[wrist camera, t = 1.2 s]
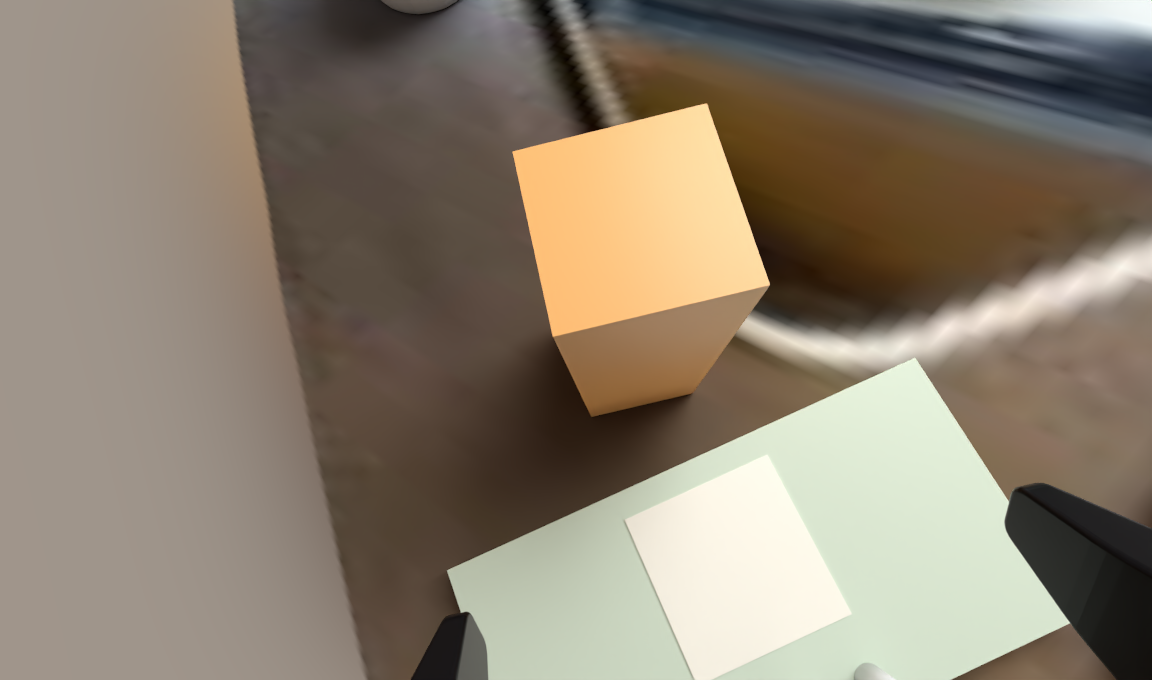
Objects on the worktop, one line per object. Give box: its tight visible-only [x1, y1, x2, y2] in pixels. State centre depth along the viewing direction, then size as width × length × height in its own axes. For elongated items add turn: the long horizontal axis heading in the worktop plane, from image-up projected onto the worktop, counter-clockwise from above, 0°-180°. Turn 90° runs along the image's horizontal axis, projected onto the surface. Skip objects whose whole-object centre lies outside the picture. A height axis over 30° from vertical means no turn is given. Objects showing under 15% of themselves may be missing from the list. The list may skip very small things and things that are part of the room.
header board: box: [447, 358, 1070, 680], centre depth 19 cm, size 10×20×4 cm, turn 114°
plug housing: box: [513, 103, 770, 417], centre depth 17 cm, size 4×4×13 cm
